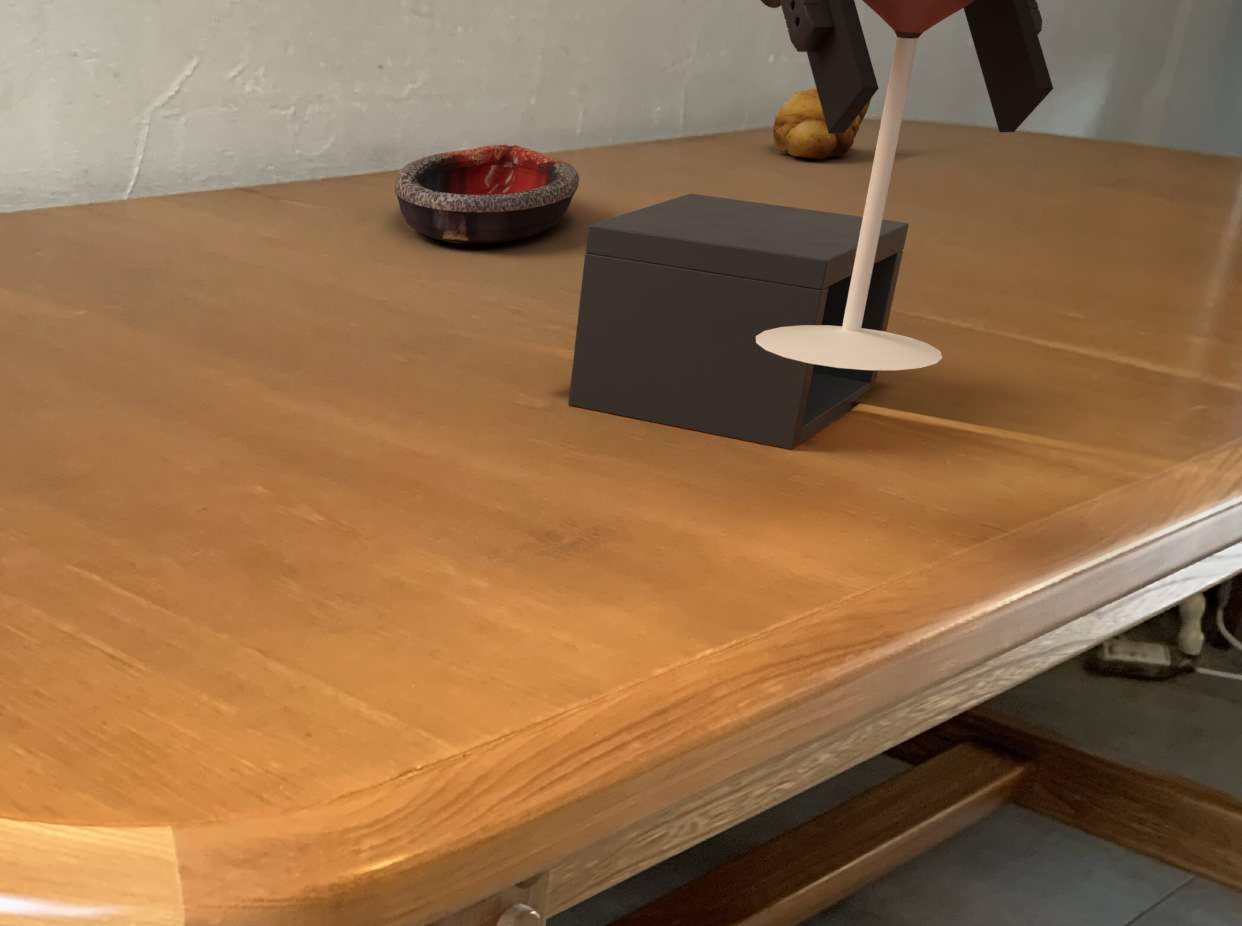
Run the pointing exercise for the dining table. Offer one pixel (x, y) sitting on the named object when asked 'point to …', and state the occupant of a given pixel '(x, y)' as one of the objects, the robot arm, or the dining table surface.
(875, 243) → the wineglass
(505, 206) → the dish
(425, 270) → the dining table surface
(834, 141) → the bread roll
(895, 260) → the shelf
